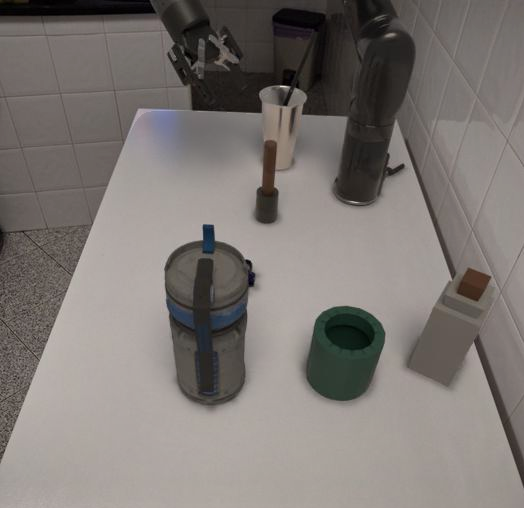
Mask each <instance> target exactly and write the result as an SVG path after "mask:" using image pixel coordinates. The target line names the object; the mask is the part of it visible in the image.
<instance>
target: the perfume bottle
mask: <svg viewBox="0 0 524 508" xmlns="http://www.w3.org/2000/svg"><path fill="white" fill-rule="evenodd" d="M452 279H453V280H451V279H449V280H448V281H447V283H446V285H445V286H444V287H443V290H442V291H441V293H440V295H439V297H438V298H437V300H436V302H435V304H434V305H433V308H432V309H431V312H430V314H429V316H428V318H427V321H426V323H425V326H424V329H423V331H422V333H421V335H420V337H419V340H418V342H417V345H416V347H415V349H414V352H413V354H412V356H411V358H410V361H409V364H407V365H408V366H407V368H408V369H409V370H412V371H414V372H416V373H418V374H420V375H422V376H425V377H426V378H429V379H431V380H433V381H434V382H437V383H440V384H441V385H444V386H446V387H450V385H451V383H452V381H453V379H454V378H455V376H456V375H457V372H458V370H459V369H460V367H461V365H462V364H463V361H464V359H465V358H466V356H467V354H468V353H469V351H470V348H471V347H472V345H473V343H474V342H475V339H476V338H477V336H478V335H479V332H480V331H481V329H482V327H483V325H484V323H485V320H486V318H487V316H488V314H489V312H490V310H491V308H492V306H493V303H494V302H495V299H496V298H495V297H492V295H493V294H494V291H495V289H496V287H494V286H492V285H490V284H489V283H490V281H491V280H492V275H489V274H486V273H484V272H481V271H480V270H479V271H478V270H476V269H473V268H471V267H467V268H466V270H465V272H464V274H463V273H459V272H456V274H455V276H454V278H452Z"/></svg>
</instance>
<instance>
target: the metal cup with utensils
mask: <svg viewBox="0 0 524 508" xmlns="http://www.w3.org/2000/svg"><path fill="white" fill-rule="evenodd" d="M318 33H319V29H318V28H315V27H314V28H313V29H312V33H311V35H310V37H309V40H308V43H307V45H306V47H305V49H304V52H303V54H302V57H301V60H300V62H299V65H298V67H297V69H296V71H295V72H296V73H295V74H294V77H293V80H292V82H291V84H290V86H289V85H271V86H267V87H264V88H263V89H261V90H260V91H259V93H258V97H259V99H260V101H261V119H262V121H261V122H262V137H263V143H264V142H265V141H267V140H274V141H276V142H277V155H276V169H275V171H284V170H287V169H289V168H291V167H292V164H293V159H294V158H293V157H294V154H295V148H296V143H297V139H298V136H299V135H298V134H299V129H300V124H301V119H302V115H303V108H304V105H305V103H306V102H307V101H308V100H307V99H308V96H307V94H306V93H305V92H304V91H303V90H301V89H299V88H297V87H296V86H297V84H298V81H299V78H300V77H301V75H302V71H303V69H304V67H305V64H306V62H307V60H308V58H309V54H310V52H311V50H312V47H313V45H314V43H315V40H316V38H317V36H318Z"/></svg>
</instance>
